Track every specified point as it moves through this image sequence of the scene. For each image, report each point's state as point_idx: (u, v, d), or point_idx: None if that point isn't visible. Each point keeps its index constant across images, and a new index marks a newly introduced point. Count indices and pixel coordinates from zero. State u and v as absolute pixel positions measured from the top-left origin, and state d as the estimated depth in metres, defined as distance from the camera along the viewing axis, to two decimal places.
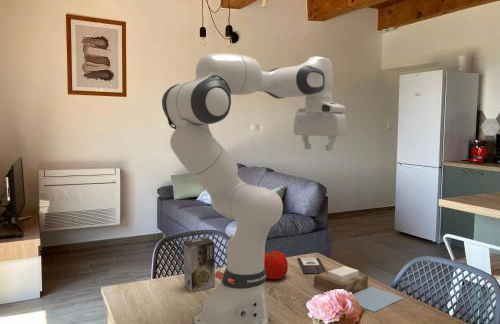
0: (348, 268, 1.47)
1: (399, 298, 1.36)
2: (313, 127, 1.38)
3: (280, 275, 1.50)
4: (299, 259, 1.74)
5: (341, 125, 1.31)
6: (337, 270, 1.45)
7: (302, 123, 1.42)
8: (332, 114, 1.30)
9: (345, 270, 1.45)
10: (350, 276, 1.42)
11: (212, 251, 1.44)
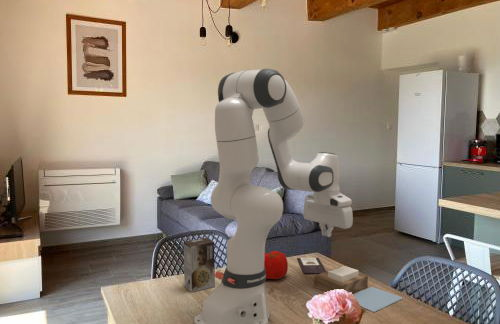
0: (348, 268, 1.47)
1: (399, 298, 1.36)
2: (321, 215, 1.49)
3: (280, 275, 1.50)
4: (299, 259, 1.74)
5: (348, 218, 1.41)
6: (337, 270, 1.45)
7: (311, 210, 1.53)
8: (340, 208, 1.41)
9: (345, 270, 1.45)
10: (350, 276, 1.42)
11: (212, 251, 1.44)
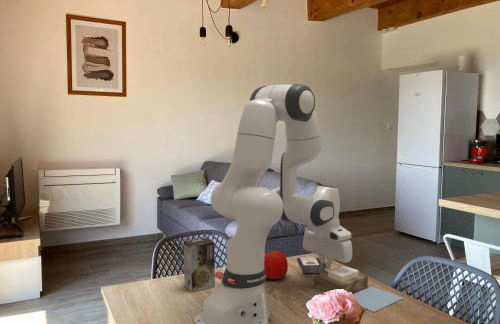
0: (348, 268, 1.47)
1: (399, 298, 1.36)
2: (321, 248, 1.49)
3: (280, 275, 1.50)
4: (299, 259, 1.74)
5: (348, 252, 1.42)
6: (337, 270, 1.45)
7: (311, 241, 1.53)
8: (339, 242, 1.42)
9: (345, 270, 1.45)
10: (350, 276, 1.42)
11: (212, 251, 1.44)
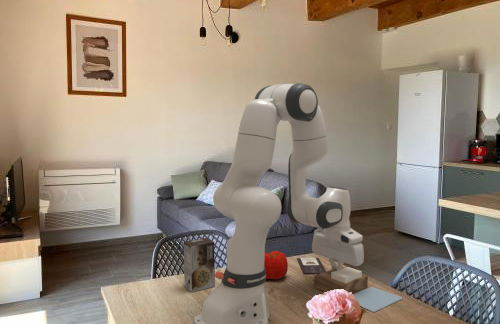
0: (351, 269, 1.46)
1: (399, 298, 1.36)
2: (331, 251, 1.46)
3: (280, 275, 1.50)
4: (299, 259, 1.74)
5: (359, 256, 1.38)
6: (340, 271, 1.44)
7: (320, 244, 1.50)
8: (351, 246, 1.38)
9: (349, 271, 1.44)
10: (353, 277, 1.41)
11: (212, 251, 1.44)
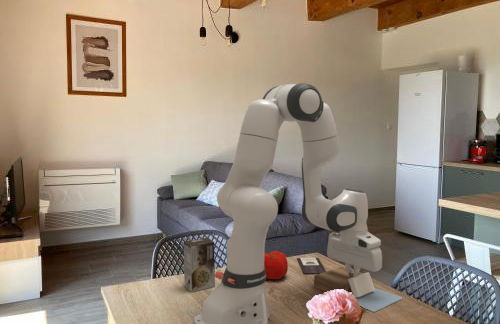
0: (369, 280, 1.40)
1: (399, 298, 1.36)
2: (347, 256, 1.40)
3: (280, 275, 1.50)
4: (299, 259, 1.74)
5: (378, 261, 1.33)
6: (360, 280, 1.38)
7: (336, 249, 1.44)
8: (369, 250, 1.33)
9: (366, 284, 1.39)
10: (364, 293, 1.38)
11: (212, 251, 1.44)
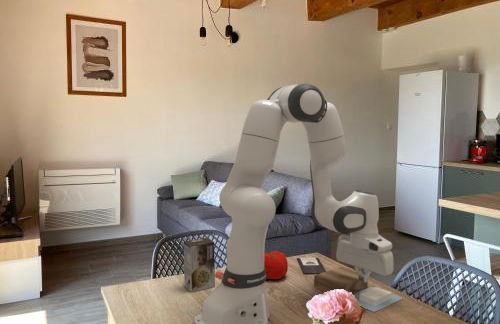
0: None
1: (399, 298, 1.36)
2: (358, 259, 1.37)
3: (280, 275, 1.50)
4: (299, 259, 1.74)
5: (389, 265, 1.30)
6: None
7: (346, 252, 1.41)
8: (380, 254, 1.30)
9: None
10: None
11: (212, 251, 1.44)
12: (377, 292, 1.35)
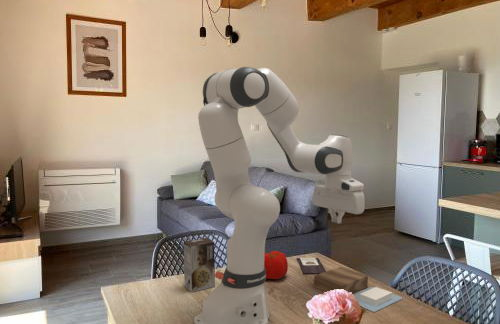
0: None
1: (399, 298, 1.36)
2: (331, 201, 1.43)
3: (280, 275, 1.50)
4: (299, 259, 1.74)
5: (360, 203, 1.36)
6: None
7: (321, 195, 1.47)
8: (351, 193, 1.35)
9: None
10: None
11: (212, 251, 1.44)
12: (377, 292, 1.35)
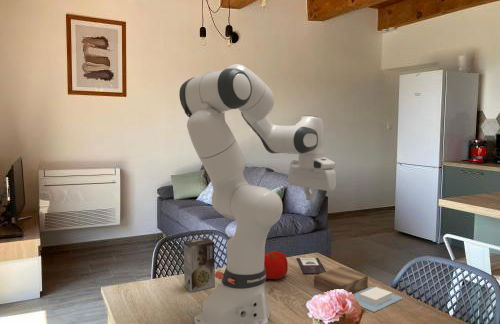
0: None
1: (399, 298, 1.36)
2: (305, 180, 1.49)
3: (280, 275, 1.50)
4: (299, 259, 1.74)
5: (331, 180, 1.42)
6: None
7: (295, 175, 1.53)
8: (323, 170, 1.42)
9: None
10: None
11: (212, 251, 1.44)
12: (377, 292, 1.35)
